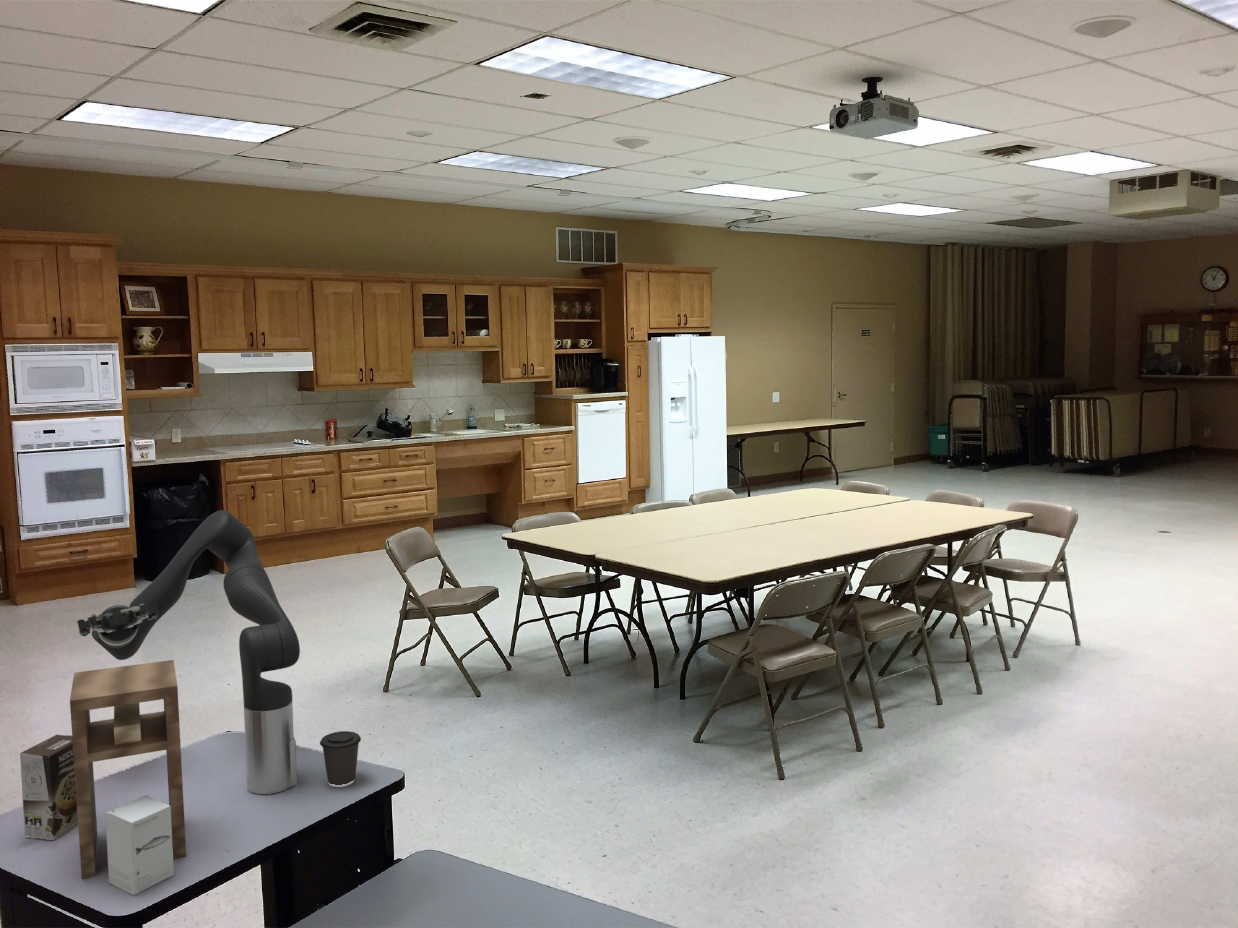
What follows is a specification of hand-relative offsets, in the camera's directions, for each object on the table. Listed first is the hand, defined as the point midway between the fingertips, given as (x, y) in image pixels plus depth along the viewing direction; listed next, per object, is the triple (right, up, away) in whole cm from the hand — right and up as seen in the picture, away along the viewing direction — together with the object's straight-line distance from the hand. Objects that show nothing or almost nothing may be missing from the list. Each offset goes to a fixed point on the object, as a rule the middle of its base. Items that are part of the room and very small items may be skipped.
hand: (118, 613), depth 188 cm
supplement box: (+18, -40, -27) cm, 52 cm away
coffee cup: (+41, -36, +9) cm, 55 cm away
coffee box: (-6, -38, -10) cm, 40 cm away
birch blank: (+10, -17, -15) cm, 25 cm away
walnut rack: (+12, -39, -17) cm, 44 cm away
